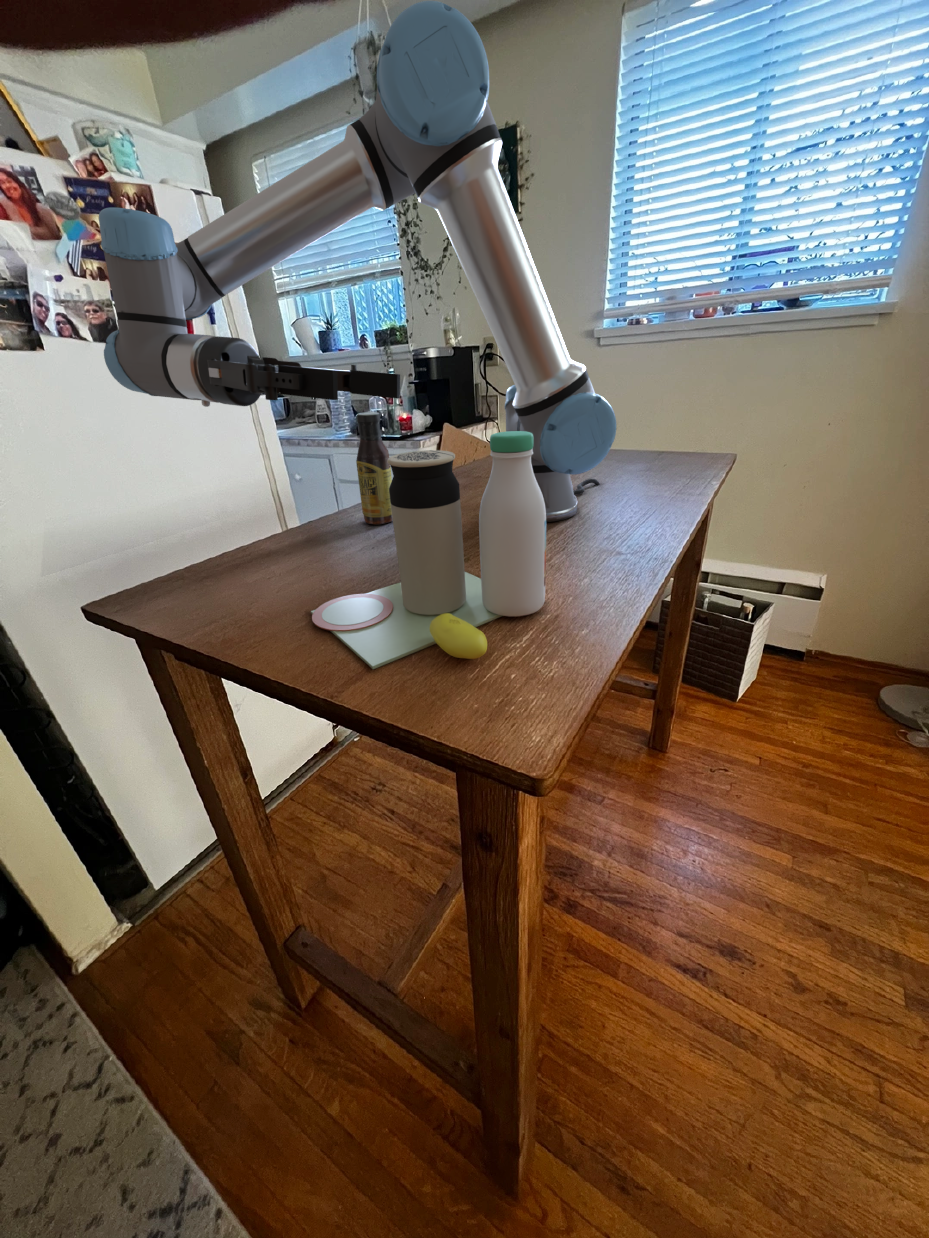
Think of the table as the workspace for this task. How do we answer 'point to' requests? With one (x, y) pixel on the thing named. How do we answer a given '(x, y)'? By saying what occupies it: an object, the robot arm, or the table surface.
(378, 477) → the sauce bottle
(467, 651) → the lemon
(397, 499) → the travel mug
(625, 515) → the table surface
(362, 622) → the placemat
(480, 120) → the robot arm
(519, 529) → the milk bottle
